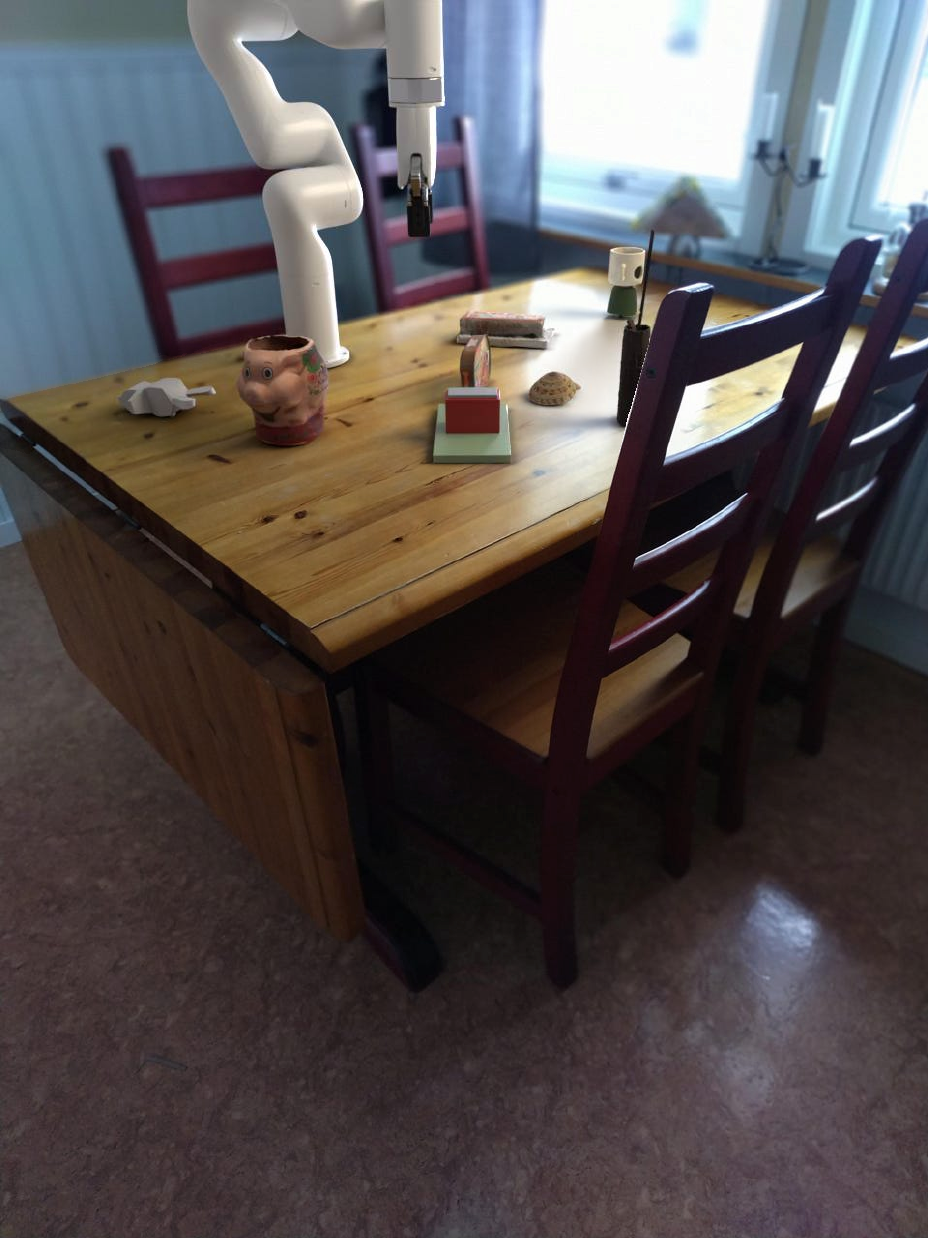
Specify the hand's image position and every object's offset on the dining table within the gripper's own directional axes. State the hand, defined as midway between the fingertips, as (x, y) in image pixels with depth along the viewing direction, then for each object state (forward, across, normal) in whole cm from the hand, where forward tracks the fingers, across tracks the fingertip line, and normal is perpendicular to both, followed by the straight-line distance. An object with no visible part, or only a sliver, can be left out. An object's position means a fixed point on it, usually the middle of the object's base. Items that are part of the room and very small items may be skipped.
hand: (421, 229), depth 125 cm
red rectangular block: (+25, +14, +8) cm, 30 cm away
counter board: (+26, +14, +8) cm, 31 cm away
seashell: (+26, -2, +21) cm, 34 cm away
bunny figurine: (+26, +4, -42) cm, 50 cm away
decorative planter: (+26, +12, -20) cm, 35 cm away
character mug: (+26, -50, +39) cm, 69 cm away
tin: (+26, -5, +8) cm, 28 cm away
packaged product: (+26, -34, +14) cm, 45 cm away
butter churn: (+26, +8, +32) cm, 42 cm away
